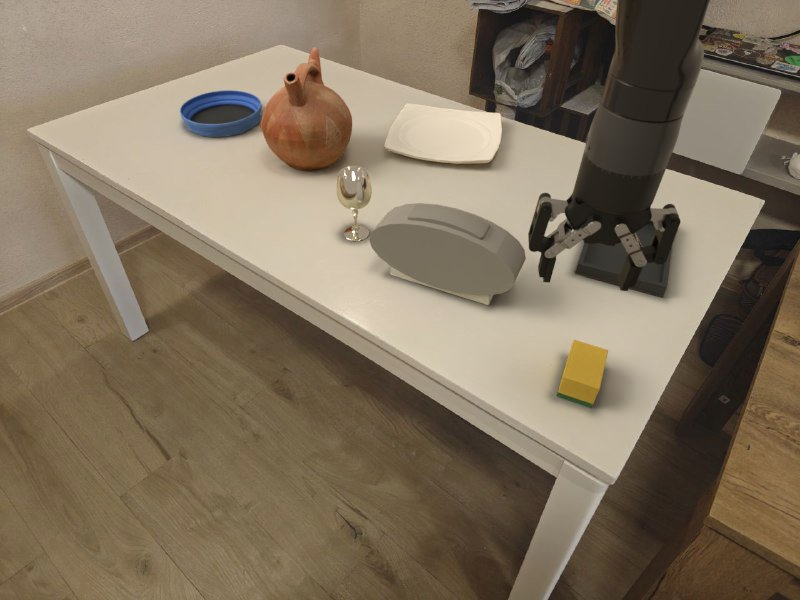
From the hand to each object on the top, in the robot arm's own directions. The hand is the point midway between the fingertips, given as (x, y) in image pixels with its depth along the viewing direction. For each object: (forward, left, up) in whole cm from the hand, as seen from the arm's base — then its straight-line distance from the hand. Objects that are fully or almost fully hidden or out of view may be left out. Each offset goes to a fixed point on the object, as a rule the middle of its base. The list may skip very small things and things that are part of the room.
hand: (584, 282), depth 62 cm
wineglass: (+39, -17, -17) cm, 45 cm away
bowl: (+87, -43, -17) cm, 98 cm away
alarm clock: (+20, -12, -17) cm, 29 cm away
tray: (-5, -32, -17) cm, 37 cm away
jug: (+60, -37, -17) cm, 72 cm away
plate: (+37, -56, -17) cm, 69 cm away
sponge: (-3, 0, -17) cm, 17 cm away
